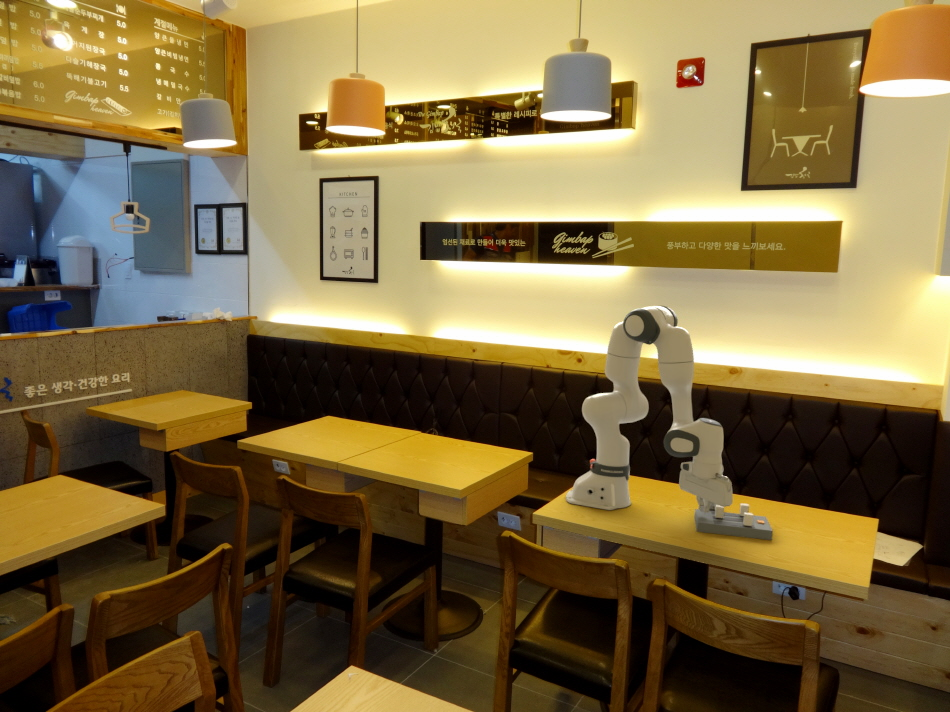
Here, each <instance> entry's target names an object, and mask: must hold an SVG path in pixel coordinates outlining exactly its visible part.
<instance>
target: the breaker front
mask: <svg viewBox="0 0 950 712" xmlns="http://www.w3.org/2000/svg"><path fill="white" fill-rule="evenodd" d="M753 515H754V514H753V512H749V513H746V512H744V519H743V524H744V525H746V526H752V522H753Z"/></svg>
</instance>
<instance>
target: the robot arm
mask: <svg viewBox="0 0 950 712" xmlns="http://www.w3.org/2000/svg"><path fill="white" fill-rule="evenodd" d="M678 321H679V320H678V315H677V314H676V313H675V311H674V310H673V309H672V308H671V307H668V306H664V305H649V306H645V307H641V308H639V307H638V308H636V309H633V310H632V311H630V312H628V313H627V314H626V315H625V317H624V319H623V321H620V322H618V323H617V324H615V325H614V326H613V328H612V331H611V335H610V337H609V338H610V339H609V341H608V346H607V352H606V359H605V367H604V374H605V376H606V378H607V379H608V380H610V382H612V383H613V391H612V392H603V393H602V392H600V393H599V392H598V393H596V394H591V395H589V396H588V397H586V398H585V399H584V401H583V403H582V406H581V413H582V417H583V418H584V420H585V421H586V422H587V423H588V424H589V425H590V426H591V428H592V429H593V431H594V433H595V437H596V459H595V458H592V459H590V460H589V471H587V472H586V473H584V474H582V475H580V476H579V477H578V478H577V479H576V480H575V482H574V483H573V486H572V489H569V491H568V492H567V493H566V495H565V500H566V502H568V503H569V504H572V505H578V506H579V505H580V506H583V507H591V508H596V509H601V510H606V511H613V510H616V509H623V508H627V507H629V506H630V505H631V504H632V503H631V499H630V490H629V480H630V474H631V473H630V471H631V467H630V447H631V445H630V441H629V440H628V438H627V437H626V436H624V435H623V434H621V431H620V424H627V423H635V422H637V421H640V420H644V418H646V417H647V415H648V413H649V409H650V408H649V405H650V404H649V401H648V399H647V397H646V396H645V394H644V393H643V392H642V391H641V389H640V386H639V378H638V377H639V376H638V375H639V367H640V359H641V352H642V347H643V344H645V345H649V346H650V345H652V344H653V345H654V346H655V348H656V351H657V364H658V365H657V367H658V372H659V373H658V374H659V377H660V380H661V381H660V382H661V383H662V386H664V387H665V388H666V389H667V390H668V392H669V393H670V397H671V403H672V405H671V406H672V415H673V421H672V424H671V427H670V429H669V430H668V431H667V433H666V434H665V436H664V438H663V447H664V449H665V451H666V452H667V453H668V454H669V455H670V456H672V457H675V458H691V457H692V460H691V461H686V462H685V461H684V462H681V464H680V469H681V470H680V472H679V480H678V481H679V482H678V486H679V488H680V490H682V491H683V492H687V493H689V494H691V495H693V496H696V497H695V498H696V499H695V500H696V502H697V505H698V509H699V510H700V511H702V512H705V513H708V512H709V511H710V510H709V507H710V506H711V505H712V503H715V504H717V505H720V506H722V507H724V508H725V507H730V506H732V504H733V502H734V501H733V500H734V496H733V495H734V494H733V486H732V485H733V484H732V481H731V479H730V478H729V477H728V476H725V475H721V469H722V465H723V459H722V452H723V450H724V438H725V437H724V428H723V426H722V424H721V423H720V422H718V421H716V420H714V419H711V418H707V417H700V418H698V419H697V420H695V419H694V415H693V402H692V401H693V400H692V388H693V382H694V373H695V361H694V360H695V357H694V349H693V344H692V339H691V335H690V333H689V331H688V330H687V329H685V328H684V327H681V326H678ZM703 499H705V503H706V504H705V505H704V501H703Z"/></svg>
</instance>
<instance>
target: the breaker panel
mask: <svg viewBox="0 0 950 712" xmlns="http://www.w3.org/2000/svg"><path fill="white" fill-rule="evenodd" d="M743 519H744V516H740V513H737V512H735V513H734V512H725V511H724V515H723V518H716V517H715V510H709V512H708V513H705V512H702V511H700V510H699V508H695V510H694V524H695V528H696V532H699V533H707V534H716V535H717V534H718V535H722V536H724V535H726V536H730V537H731V536H734V537H741V538H748V539H749V538H751V539H758V540H760V539H761V540H767V541H772V540H773V529H772V527H771V524H770V522H769V520H768V518H767V516H764V515H762V516H761V515H754V514H753V522H752V526H746V525H744V524H743Z"/></svg>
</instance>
